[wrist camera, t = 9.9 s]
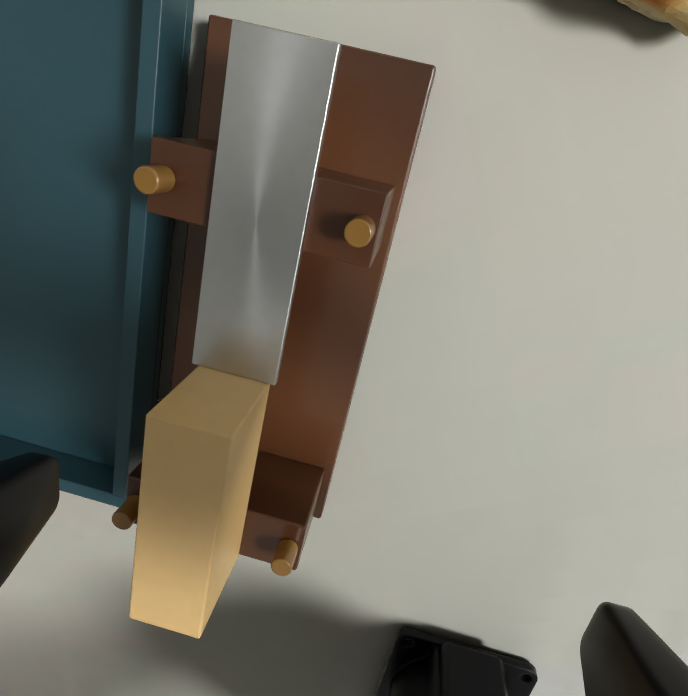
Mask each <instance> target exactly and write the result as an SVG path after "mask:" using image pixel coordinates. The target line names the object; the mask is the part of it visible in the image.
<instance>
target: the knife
mask: <svg viewBox="0 0 688 696" xmlns="http://www.w3.org/2000/svg"><path fill="white" fill-rule="evenodd" d="M340 52H341V45H340V44H339V43H336V42H331V41H327V40H323V39H318V38H314V37H310V36H305V35H301V34H296V33H292V32H288V31H283V30H279V29H274V28H270V27H266V26H261V25H257V24H253V23H248V22H244V21H239V20H235V19H233V20H232V28H231V37H230V45H229V53H228V62H227V70H226V79H225V87H224V96H223V104H222V113H221V121H220V130H219V138H218V146H217V155H216V163H215V172H214V180H213V189H212V197H211V206H210V214H209V223H208V231H207V239H206V248H205V256H204V265H203V273H202V282H201V290H200V299H199V307H198V316H197V324H196V332H195V341H194V349H193V358H192V363H193V364H196V365H199V366H198V367H197V368H196V369H195V370H194V371H193V372H192V373H190V374H189V375H188V376H187V377H186V378H185V379H184V380H183V381H182V382H181V383H180V384H179V385H178V386H176V387H175V388H174V389H173V390H172V391H171V392H170V393H169V394H168V395H167V396H166V397H165V398H164V399H162V400H161V401H160V402H159V403H158V404H157V405H156V406H155V407H154V408H153V409H152V410H151V411H150V412H149V413H147V415H146V424H145V435H144V447H143V459H142V471H141V483H140V494H139V506H138V518H137V530H136V542H135V554H134V565H133V577H132V589H131V601H130V613H129V617H130V618H132V619H135V620H138V621H142V622H145V623H148V624H152V625H155V626H158V627H161V628H165V629H168V630H171V631H175V632H178V633H181V634H185V635H188V636H191V637H194V638H200V637H201V635H202V632H203V630H204V628H205V626H206V624H207V622H208V620H209V617H210V615H211V613H212V611H213V609H214V607H215V605H216V603H217V600H218V598H219V596H220V594H221V592H222V590H223V588H224V585H225V583H226V581H227V579H228V577H229V575H230V573H231V570H232V568H233V566H234V564H235V562H236V560H237V558H238V555H239V550H240V544H241V539H242V534H243V528H244V523H245V517H246V512H247V507H248V501H249V496H250V490H251V485H252V480H253V474H254V469H255V463H256V458H257V453H258V447H259V442H260V436H261V431H262V426H263V420H264V415H265V409H266V404H267V399H268V393H269V388H270V385H276V383H277V382H278V377H279V372H280V366H281V361H282V356H283V351H284V345H285V340H286V335H287V330H288V324H289V319H290V314H291V309H292V303H293V298H294V293H295V288H296V282H297V277H298V272H299V267H300V262H301V256H302V251H303V246H304V241H305V235H306V230H307V225H308V220H309V214H310V209H311V204H312V199H313V193H314V188H315V183H316V178H317V172H318V167H319V162H320V157H321V151H322V146H323V141H324V136H325V130H326V125H327V120H328V115H329V110H330V104H331V99H332V94H333V89H334V83H335V78H336V73H337V68H338V62H339V57H340Z"/></svg>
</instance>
